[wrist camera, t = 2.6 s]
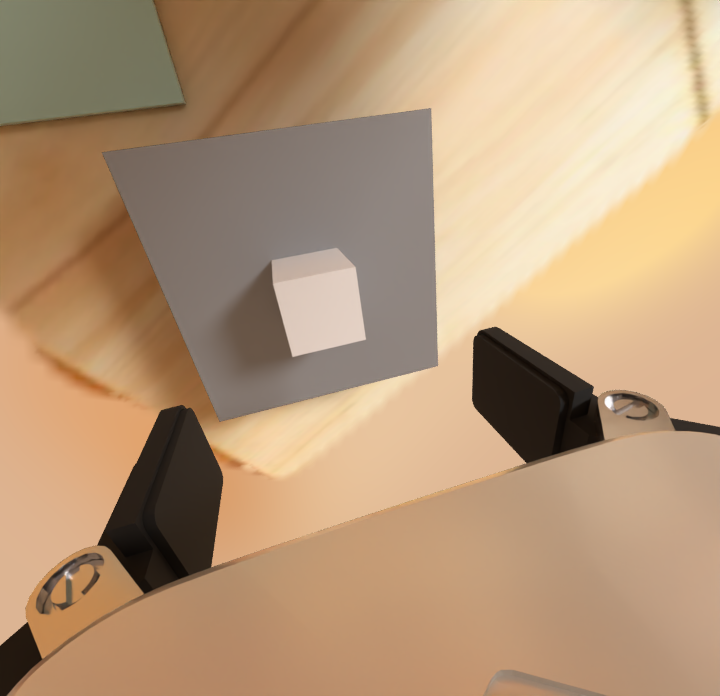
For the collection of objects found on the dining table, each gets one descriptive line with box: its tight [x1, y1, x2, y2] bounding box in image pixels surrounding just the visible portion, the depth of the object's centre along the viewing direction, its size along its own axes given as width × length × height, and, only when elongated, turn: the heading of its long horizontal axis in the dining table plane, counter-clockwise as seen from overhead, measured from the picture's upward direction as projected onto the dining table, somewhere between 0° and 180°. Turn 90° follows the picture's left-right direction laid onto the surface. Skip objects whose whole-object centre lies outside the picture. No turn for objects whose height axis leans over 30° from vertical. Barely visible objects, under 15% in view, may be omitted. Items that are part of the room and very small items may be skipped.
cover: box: [102, 108, 438, 422], centre depth 21 cm, size 17×17×9 cm
